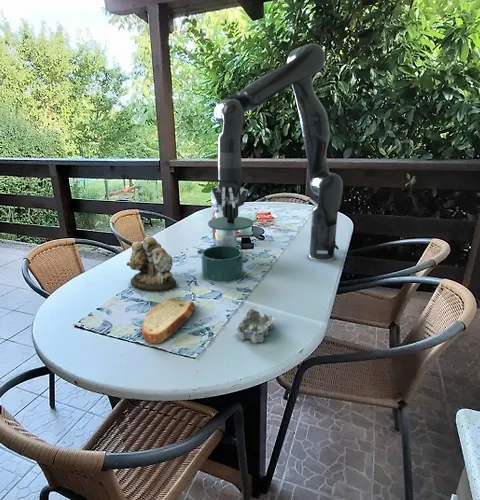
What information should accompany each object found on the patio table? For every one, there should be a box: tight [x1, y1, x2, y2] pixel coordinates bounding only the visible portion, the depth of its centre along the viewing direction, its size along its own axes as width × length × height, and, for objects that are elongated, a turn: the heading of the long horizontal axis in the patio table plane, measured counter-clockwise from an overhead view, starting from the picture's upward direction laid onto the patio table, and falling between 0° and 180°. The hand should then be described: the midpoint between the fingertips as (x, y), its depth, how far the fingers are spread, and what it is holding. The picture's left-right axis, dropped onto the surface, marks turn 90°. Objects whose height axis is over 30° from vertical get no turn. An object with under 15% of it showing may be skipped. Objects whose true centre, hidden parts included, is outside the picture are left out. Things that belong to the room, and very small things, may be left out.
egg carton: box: [235, 307, 275, 344], centre depth 96 cm, size 11×8×4 cm
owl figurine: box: [126, 235, 177, 293], centre depth 125 cm, size 18×12×17 cm, turn 69°
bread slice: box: [141, 298, 196, 345], centre depth 103 cm, size 18×18×4 cm
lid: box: [207, 203, 254, 231], centre depth 124 cm, size 16×16×8 cm
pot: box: [197, 245, 249, 283], centre depth 131 cm, size 15×20×8 cm
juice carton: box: [210, 185, 238, 247], centre depth 155 cm, size 9×10×27 cm
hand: (230, 217), depth 125 cm, fingers closed on lid, 2 cm apart
